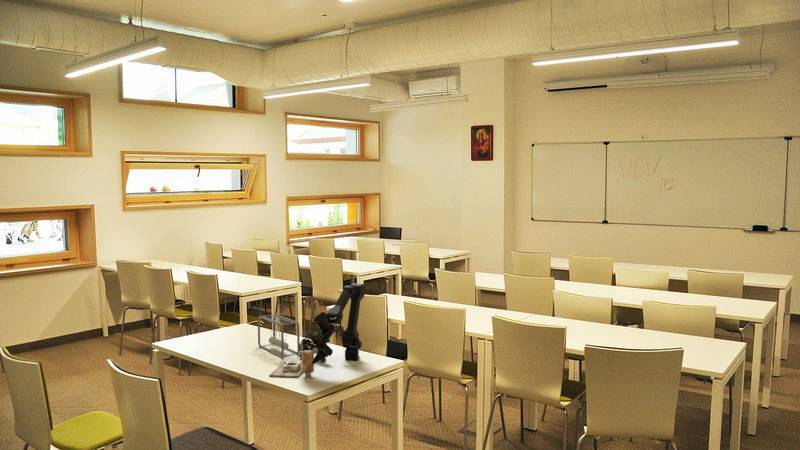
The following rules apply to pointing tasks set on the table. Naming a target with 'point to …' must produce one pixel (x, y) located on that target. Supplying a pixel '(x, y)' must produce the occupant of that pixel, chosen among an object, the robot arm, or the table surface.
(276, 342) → the newton's cradle
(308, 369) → the tapered tan cup
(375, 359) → the table surface
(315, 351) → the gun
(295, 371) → the brown board with rail
